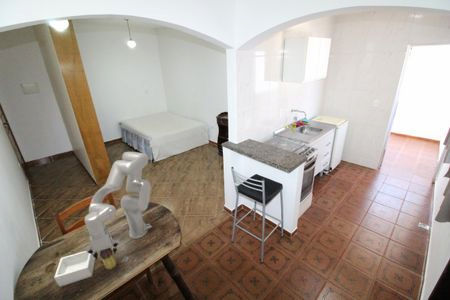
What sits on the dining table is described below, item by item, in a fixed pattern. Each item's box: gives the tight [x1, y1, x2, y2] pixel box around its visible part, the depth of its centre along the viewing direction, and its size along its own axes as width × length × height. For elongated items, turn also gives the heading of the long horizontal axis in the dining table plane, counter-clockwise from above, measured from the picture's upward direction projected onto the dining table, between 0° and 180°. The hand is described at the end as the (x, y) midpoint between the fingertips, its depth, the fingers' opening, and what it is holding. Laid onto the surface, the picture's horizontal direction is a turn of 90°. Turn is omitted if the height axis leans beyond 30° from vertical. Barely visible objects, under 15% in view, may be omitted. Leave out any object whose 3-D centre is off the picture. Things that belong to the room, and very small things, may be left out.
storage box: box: [53, 248, 96, 288], centre depth 126 cm, size 16×13×8 cm
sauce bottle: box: [99, 247, 117, 271], centre depth 126 cm, size 6×6×20 cm
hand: (106, 254), depth 125 cm, fingers open, 9 cm apart
